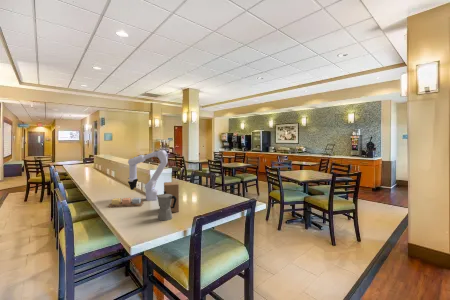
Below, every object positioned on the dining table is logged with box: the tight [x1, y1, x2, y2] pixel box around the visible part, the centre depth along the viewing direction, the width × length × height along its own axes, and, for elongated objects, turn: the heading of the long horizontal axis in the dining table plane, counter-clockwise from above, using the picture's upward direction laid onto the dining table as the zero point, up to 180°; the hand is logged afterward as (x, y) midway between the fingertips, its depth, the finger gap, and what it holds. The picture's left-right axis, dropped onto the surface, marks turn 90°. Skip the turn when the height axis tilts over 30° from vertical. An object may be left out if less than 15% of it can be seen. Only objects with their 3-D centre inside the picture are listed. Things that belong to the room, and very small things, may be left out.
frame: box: [108, 200, 144, 209], centre depth 172 cm, size 23×8×3 cm, turn 98°
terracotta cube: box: [121, 197, 132, 204], centre depth 172 cm, size 5×5×5 cm
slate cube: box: [131, 197, 142, 204], centre depth 173 cm, size 5×5×5 cm
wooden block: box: [163, 181, 180, 214], centre depth 161 cm, size 10×10×20 cm
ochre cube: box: [111, 197, 122, 205], centre depth 170 cm, size 5×5×5 cm
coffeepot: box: [156, 190, 177, 222], centre depth 145 cm, size 15×9×18 cm, turn 69°
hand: (133, 188), depth 188 cm, fingers open, 7 cm apart
